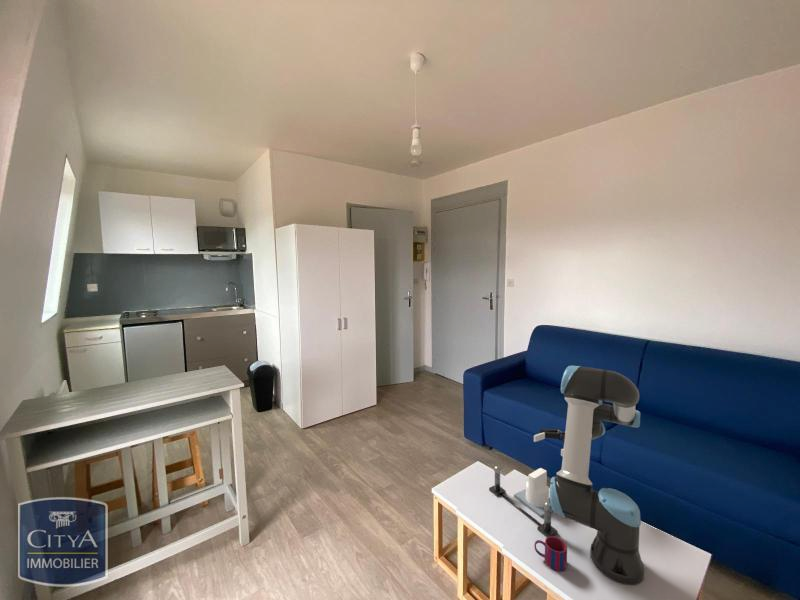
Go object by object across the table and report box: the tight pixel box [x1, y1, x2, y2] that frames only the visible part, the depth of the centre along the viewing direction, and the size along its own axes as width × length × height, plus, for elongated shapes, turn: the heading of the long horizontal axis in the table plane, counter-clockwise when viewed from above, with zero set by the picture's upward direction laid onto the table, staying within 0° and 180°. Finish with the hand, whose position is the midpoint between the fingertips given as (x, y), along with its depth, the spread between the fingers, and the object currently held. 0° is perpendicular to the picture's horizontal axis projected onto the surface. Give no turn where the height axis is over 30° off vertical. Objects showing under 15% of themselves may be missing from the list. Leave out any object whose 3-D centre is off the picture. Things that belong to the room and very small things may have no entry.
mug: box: [534, 536, 568, 572], centre depth 112 cm, size 7×10×7 cm
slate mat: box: [513, 488, 554, 518], centre depth 140 cm, size 14×12×1 cm
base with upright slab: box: [525, 467, 550, 507], centre depth 140 cm, size 9×9×12 cm
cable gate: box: [488, 465, 558, 538], centre depth 135 cm, size 31×5×12 cm, turn 28°
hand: (547, 445), depth 142 cm, fingers open, 13 cm apart
